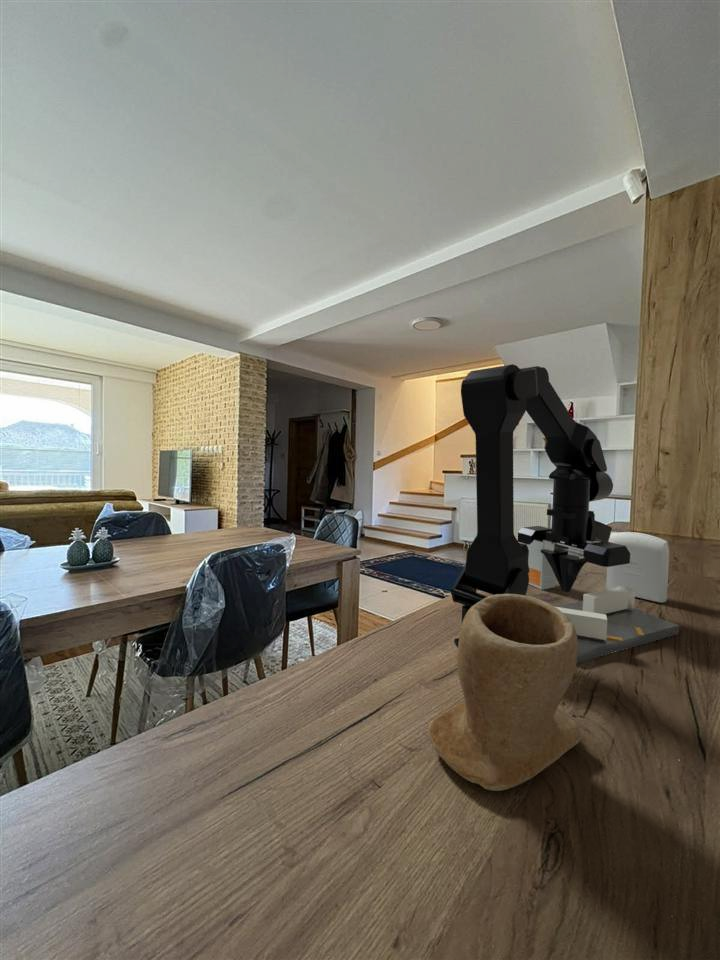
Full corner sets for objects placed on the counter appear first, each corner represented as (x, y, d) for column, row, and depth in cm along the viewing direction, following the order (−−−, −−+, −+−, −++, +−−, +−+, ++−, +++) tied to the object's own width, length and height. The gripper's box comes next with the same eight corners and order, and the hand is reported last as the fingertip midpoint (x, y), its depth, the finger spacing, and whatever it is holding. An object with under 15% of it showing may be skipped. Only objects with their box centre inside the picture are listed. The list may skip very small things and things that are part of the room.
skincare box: (518, 581, 90) (521, 526, 89) (533, 578, 92) (535, 525, 91) (541, 590, 84) (544, 532, 83) (556, 587, 86) (559, 530, 85)
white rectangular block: (528, 626, 63) (529, 607, 63) (529, 620, 65) (530, 602, 65) (606, 640, 59) (607, 620, 59) (604, 633, 61) (605, 614, 61)
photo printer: (602, 590, 85) (605, 530, 84) (610, 585, 87) (613, 527, 86) (662, 605, 77) (667, 539, 76) (669, 600, 80) (674, 536, 78)
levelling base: (573, 665, 56) (574, 645, 55) (503, 625, 68) (504, 609, 67) (679, 635, 65) (680, 617, 65) (601, 604, 77) (601, 590, 77)
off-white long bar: (622, 602, 73) (623, 585, 73) (636, 607, 71) (637, 590, 71) (581, 611, 69) (582, 593, 69) (594, 616, 67) (595, 598, 67)
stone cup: (509, 839, 31) (517, 646, 30) (411, 741, 41) (414, 594, 40) (620, 762, 39) (630, 606, 37) (514, 695, 49) (519, 570, 48)
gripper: (655, 509, 68) (648, 603, 69) (559, 496, 85) (555, 571, 86) (608, 514, 63) (602, 613, 64) (517, 498, 80) (514, 577, 82)
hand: (565, 591), depth 74 cm, fingers closed
